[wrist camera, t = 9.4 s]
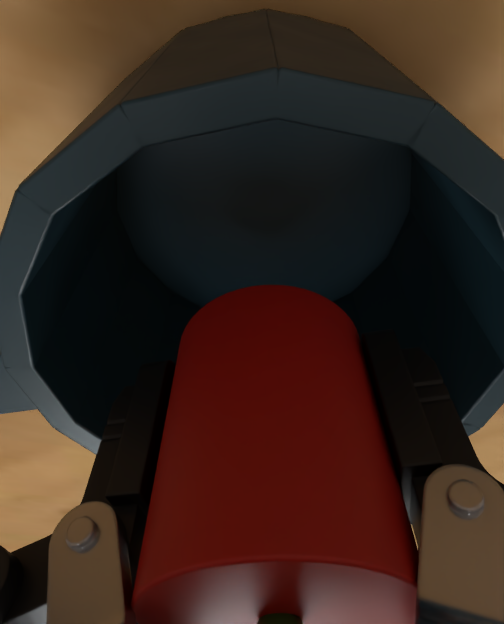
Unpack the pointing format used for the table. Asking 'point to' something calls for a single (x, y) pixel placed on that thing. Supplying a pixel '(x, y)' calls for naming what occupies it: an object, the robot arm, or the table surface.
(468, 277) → the pot
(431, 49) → the table surface
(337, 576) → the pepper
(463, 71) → the table surface
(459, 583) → the robot arm
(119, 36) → the table surface
